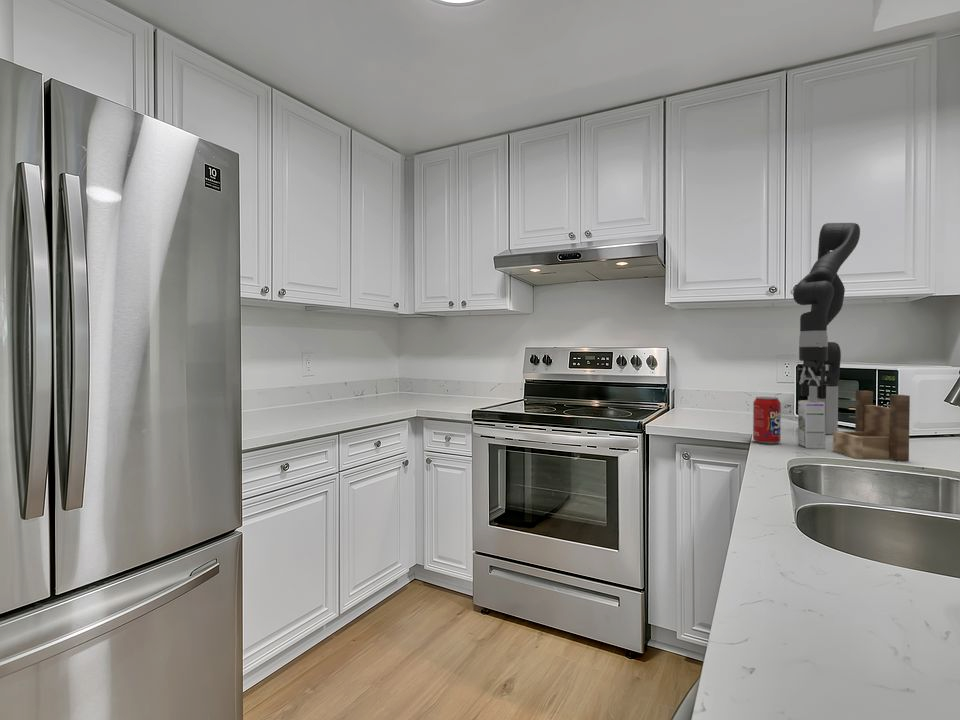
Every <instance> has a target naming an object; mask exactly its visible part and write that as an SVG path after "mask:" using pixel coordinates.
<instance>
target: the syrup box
mask: <svg viewBox="0 0 960 720" xmlns="http://www.w3.org/2000/svg"><path fill="white" fill-rule="evenodd" d="M797 404H798V405H797V409H798V410H797V411H798V413H797V417H798V420H797V421H798V423H797V425H798V427H797V432H798V434H797V436H798V439H797V443H798V446H800V447H803V448H804V449H812V450H813V449H815V450H817V449H818V450H820V449H821V450H823V449H826V434H825V403H824V402H820V401H814V400H808V399H805V400H803V399H802V400H798V401H797Z"/></svg>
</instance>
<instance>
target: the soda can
mask: <svg viewBox="0 0 960 720" xmlns="http://www.w3.org/2000/svg"><path fill="white" fill-rule="evenodd" d="M752 403H753V405H752V407H753V409H752V417H753V418H752V419H753V421H752V440H753V441H755V442H756V443H758V444H763V445H776V444H778V443H780V442H781V433H782V432H781V431H782V430H781V427H782V426H781V425H782V423H781V422H782V421H781V417H782V415H781V413H782V407H781V405H782V403H781V401H780V400H779V397H776V396H755V399H754V401H753V402H752Z"/></svg>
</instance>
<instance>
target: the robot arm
mask: <svg viewBox="0 0 960 720" xmlns="http://www.w3.org/2000/svg"><path fill="white" fill-rule="evenodd" d="M860 237H861V227H860V225H859V224H858V223H855V222H828V223H827V222H826V223H824V224H823V225H822V227H821V228H820V232H819V237H818V248H817V259H816V261H815V263H814V264H813V265H812V268H811V270H810V272H809V273H808V274H807V275H806V276H804V277H803V278H802V279H801V280H800V281H798V282H797V284H796V285H795V287H794V289H793V293H792V295H793V296H792V297H793V300H794V302H795V303H796V304H797V305H800V306H809V305H811V306H810V307H811V308H810V311H808V312H804V313H801V315H800V319H799V336H798V337H799V338H798V360H799V361H801V362H802V363H797V364H796V376H795V381H796V383H799V385H800V396H801V397H807V400H814V401H820V402H824V403H825V435H833V431H838V430H839V429H838V426H839V425H838V423H839V418H838V417H839V382H840V381H839V380H840V371H841V359H842V355H841V353H842V352H841V348H840V344H838V343H837V342H835V341H829V340H828V328H827V327H828V325H829V324H830V323H831V322H833V320H834V319H835V318H836V317H837V316H838V314H839V313H840V311H841V310H842V308H843V304H844V300H845V299H844V298H845V290H846V288H845V286H844V283H843V281H842V280H841V277H839V275H838V272H839V270H840V268H841V266H842V265H843V264H844V263H845V261H847V259H848V258H849V257H850V256H851V255H852V253H853V252H854V250H855V249H856V248H857V245H858V243H859V241H860Z"/></svg>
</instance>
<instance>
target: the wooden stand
mask: <svg viewBox="0 0 960 720" xmlns="http://www.w3.org/2000/svg"><path fill="white" fill-rule="evenodd" d="M910 396H911V395H907V394H889V407H887V406H883V405H882V406H881V405H875V404H874V391H871V390H855V423H854V424H855V425H854V426H855V428H854V430H855V431H852V430H851V431H849V430H848V431H845V430H844V431H833V434H832V437H833V438H832V439H833V440H832V452H834V451H835V452H834V453H837V452H838V454H840V453H841V455H844V456H847V457H850V458H853V457H854V459H856V458H857V459H858V460H859V459H860V460H861V459H862V460H863V459H864V460H869V459H870V460H873V459H874V460H890V459H891V461H894V460H895V462H897V461H909V462H910V415H911V413H910V407H911V406H910V405H911V404H910V402H911V397H910Z"/></svg>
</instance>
